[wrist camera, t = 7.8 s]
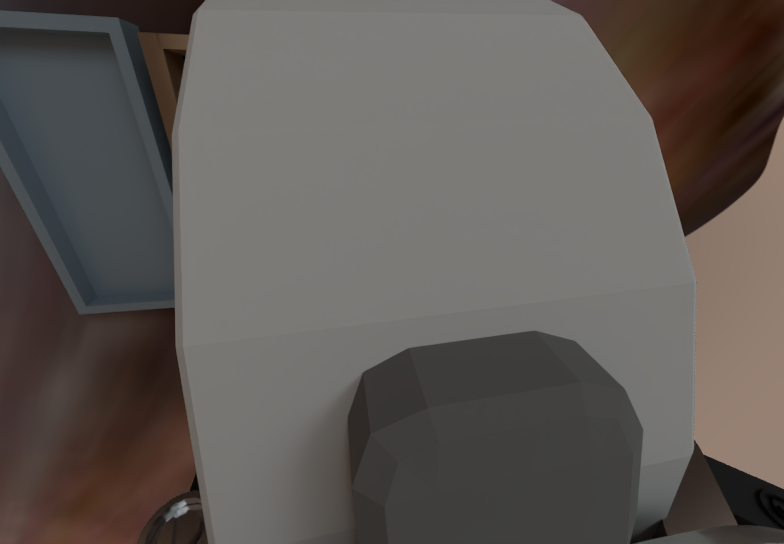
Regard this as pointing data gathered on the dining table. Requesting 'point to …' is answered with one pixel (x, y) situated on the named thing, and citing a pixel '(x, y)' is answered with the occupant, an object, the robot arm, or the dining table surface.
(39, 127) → the slate tray
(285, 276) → the alarm clock
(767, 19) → the dining table surface
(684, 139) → the dining table surface
